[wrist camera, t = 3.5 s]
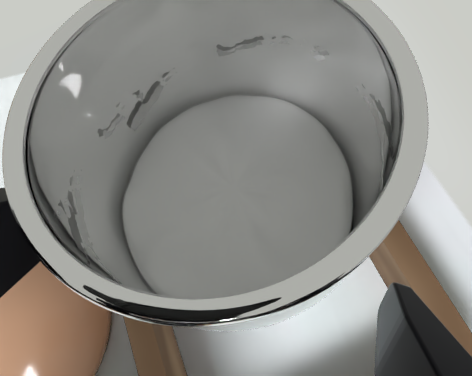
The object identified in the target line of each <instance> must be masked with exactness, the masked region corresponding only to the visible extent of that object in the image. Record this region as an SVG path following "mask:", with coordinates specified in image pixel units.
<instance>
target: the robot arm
mask: <svg viewBox="0 0 472 376" xmlns="http://www.w3.org/2000/svg"><path fill="white" fill-rule="evenodd" d="M39 262H40V260H39V259H38V258H37V257H36V256H35V254H34V253H33V252H32V250H31V249H30V247H29V246H28V244H27V243H26V241H25V240H24V238H23V236H22V234H21V232H20V230H19V228H18V226H17V224H16V222H15V220H14V217H13V215H12V212H11V209H10V206H9V203H8V199H7V195H6V190H5V188H0V298H1V297H2V296H3V295H4V294H5V293H6V292H8V291H9V290H10V289H11V288H12V287H13V286H14V285H15V284H16V283H17V282H18V281H20V280H21V279H22V278H23V277H24V276H25V275H26V274H27V273H28V272H29V271H31V270H32V269H33V268H34V267H35V266H36V265H37V264H38V263H39ZM375 376H472V357H471V355H470V354H469V353H468V352H467V351H466V350H465V349H464V347H463V346H462V345H461V344H460V343H459V342H458V341H457V339H456V338H455V337H454V336H453V335H452V334H451V333H450V331H449V330H448V329H447V328H446V327H445V326H444V325H443V324H442V322H441V321H440V320H439V319H438V318H437V317H436V316H435V314H434V313H433V312H432V311H431V310H430V309H429V308H428V306H427V305H426V304H425V303H424V302H423V301H422V300H421V299H420V297H419V296H418V295H417V294H416V293H415V292H414V291H413V289H412V288H410V287H409V286H406V285H402V284H399V283H396V282H393V283H391V284H390V286H389V288H388V290H387V292H386V294H385V296H384V298H383V300H382V302H381V304H380V307H379V310H378V320H377V337H376V354H375Z"/></svg>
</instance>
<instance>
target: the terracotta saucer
mask: <svg viewBox="0 0 472 376" xmlns="http://www.w3.org/2000/svg"><path fill="white" fill-rule="evenodd" d="M110 324H111V311H109V310H106V309H104V308H102V307H100V306H98V305H96V304H94V303H92V302H90V301H88V300H87V299H85V298H83V297H82V296H80V295H78V294H77V293H75V292H74V291H72V290H71V289H70V288H68V287H67V286H66V285H64V284H63V283H62V282H61V281H60V280H58V279H57V278H56V277H55V276H54V275H53V274H52V273H51V272H50V271H49V270H48V269H47V268H46V267H45V266H44V265H43V264H42V263H41V262H39V263H38V264H37V265H36V266H35V267H34V268H33V269H32V270H31V271H29V272H28V273H27V274H26V275H25V276H24V277H23V278H22V279H21V280H20V281H18V282H17V283H16V284H15V285H14V286H13V287H12V288H11V289H10V290H9V291H8V292H6V293H5V294H4V295H3V296H2V297H1V298H0V376H95V374H96V372H97V370H98V368H99V366H100V364H101V361H102V358H103V356H104V353H105V350H106V346H107V342H108V338H109V332H110Z"/></svg>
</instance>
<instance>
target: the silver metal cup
mask: <svg viewBox="0 0 472 376" xmlns="http://www.w3.org/2000/svg"><path fill="white" fill-rule="evenodd" d="M427 138H428V107H427V98H426V92H425V88H424V84H423V80H422V76H421V73H420V70H419V67H418V65H417V63H416V60H415V58H414V56H413V54H412V52H411V50H410V48H409V46H408V44H407V42H406V41H405V39H404V37H403V36H402V34H401V33H400V31H399V30H398V29H397V27H396V26H395V25H394V24H393V22H392V21H391V20H390V19H389V18H388V16H387V15H386V14H385V13H384V12H383V11H382V10H381V9H380V8H379V7H378V6H377V5H376V4H375V3H373V2H372V1H371V0H92V1H90V2H89V3H88V4H86V5H85V6H84V7H82V8H81V9H80V10H79V11H77V12H76V13H75V14H74V15H73V16H71V17H70V18H69V19H68V20H67V21H66V22H65V23H64V24H63V25H62V26H61V27H60V28H59V29H58V30H57V31H56V32H55V33H54V34H53V35H52V37H50V39H49V40H48V41H47V42H46V43H45V45H44V46H43V48H42V49H41V50H40V52H39V53H38V54H37V55H36V57H35V59H34V60H33V61H32V63H31V64H30V66H29V68H28V69H27V71H26V73H25V75H24V77H23V78H22V80H21V83H20V85H19V87H18V89H17V91H16V94H15V96H14V99H13V101H12V104H11V107H10V111H9V114H8V118H7V122H6V127H5V132H4V140H3V150H2V167H3V178H4V184H5V190H6V195H7V199H8V203H9V206H10V209H11V212H12V215H13V217H14V220H15V222H16V224H17V226H18V228H19V230H20V232H21V234H22V236H23V238H24V240H25V241H26V243H27V244H28V246H29V247H30V249H31V250H32V252H33V253H34V254H35V256H36V257H37V258H38V259H39V260H40V262H41V263H42V264H43V265H44V266H45V267H46V268H47V269H48V270H49V271H50V272H51V273H52V274H53V275H54V276H55V277H56V278H57V279H58V280H60V281H61V282H62V283H63V284H64V285H66V286H67V287H68V288H70V289H71V290H72V291H74V292H75V293H77V294H78V295H80V296H82V297H83V298H85V299H87V300H88V301H90V302H92V303H94V304H96V305H98V306H100V307H102V308H104V309H106V310H109V311H111V312H114V313H116V314H119V315H122V316H125V317H128V318H131V319H135V320H139V321H143V322H147V323H152V324H159V325H165V326H175V327H190V328H196V329H202V330H209V331H223V332H232V331H244V330H252V329H258V328H263V327H267V326H271V325H274V324H277V323H280V322H283V321H285V320H288V319H290V318H292V317H294V316H297V315H298V314H300V313H302V312H304V311H306V310H307V309H309V308H311V307H313V306H314V305H315V304H317V303H318V302H320V301H321V300H322V299H324V298H325V297H326V296H328V295H329V294H330V293H331V292H332V291H333V290H334V289H335V288H337V287H338V286H339V285H340V284H341V283H342V281H343V280H344V279H345V278H346V277H347V276H348V275H349V274H350V273H351V272H352V271H353V270H354V269H355V268H357V267H358V266H359V265H360V264H361V263H362V262H363V261H364V260H365V259H366V258H368V257H369V256H370V255H371V254H372V252H373V251H374V250H375V249H376V248H377V247H378V246H379V245H380V244H381V243H382V241H383V240H384V239H385V238H386V237H387V235H388V234H389V232H390V231H391V230H392V228H393V227H394V226H395V224H396V223H397V221H398V220H399V218H400V216H401V215H402V213H403V211H404V210H405V208H406V206H407V204H408V202H409V200H410V198H411V196H412V194H413V191H414V189H415V187H416V184H417V181H418V178H419V176H420V172H421V169H422V166H423V162H424V157H425V152H426V146H427Z"/></svg>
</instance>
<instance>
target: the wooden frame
mask: <svg viewBox="0 0 472 376" xmlns="http://www.w3.org/2000/svg"><path fill="white" fill-rule="evenodd" d="M369 257H370V258H371V260H372V262H373V264H374V265H375V267H376V269H377V271H378V272H379V274H380V276H381V277H382V279H383V281H384V283H385V284H386V286H387V288H389V286H390V284H391V283H393V282H396V283H399V284H402V285H406V286H409V287H410V288H412V289H413V291H414V292H415V293H416V294H417V295H418V296H419V297H420V299H421V300H422V301H423V302H424V303H425V304H426V305H427V306H428V308H429V309H430V310H431V311H432V312H433V313H434V314H435V316H436V317H437V318H438V319H439V320H440V321H441V322H442V324H443V325H444V326H445V327H446V328H447V329H448V330H449V331H450V333H451V334H452V335H453V336H454V337H455V338H456V339H457V341H458V342H459V343H460V344H461V345H462V346H463V347H464V349H465V350H466V351H467V352H468V353H469V354H470V355H471V357H472V333H471V331H470V329H469V328H468V326H467V325H466V323H465V322H464V320H463V319H462V317H461V316H460V314H459V312H458V311H457V309H456V308H455V306H454V305H453V303H452V302H451V300H450V299H449V297H448V295H447V294H446V292H445V291H444V289H443V288H442V286H441V285H440V283H439V281H438V280H437V278H436V277H435V275H434V274H433V272H432V271H431V269H430V268H429V266H428V264H427V263H426V261H425V260H424V258H423V257H422V255H421V254H420V252H419V251H418V249H417V247H416V246H415V244H414V243H413V241H412V240H411V238H410V237H409V235H408V233H407V232H406V230H405V229H404V227H403V226H402V224H401V223H400V221H399V220H398V221H397V223H396V224H395V226H394V227H393V228H392V230H391V231H390V232H389V234H388V235H387V237H386V238H385V239H384V240H383V241H382V243H381V244H380V245H379V246H378V247H377V248H376V249H375V250H374V251H373V252H372V254H371V255H370V256H369ZM123 317H124V321H125V325H126V329H127V333H128V336H129V340H130V344H131V348H132V352H133V356H134V360H135V364H136V367H137V371H138V375H139V376H187V373H186V370H185V367H184V364H183V360H182V357H181V354H180V351H179V348H178V344H177V341H176V338H175V335H174V331H173V328H172V326H165V325H159V324H152V323H147V322H143V321H139V320H135V319H131V318H128V317H125V316H123Z"/></svg>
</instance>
